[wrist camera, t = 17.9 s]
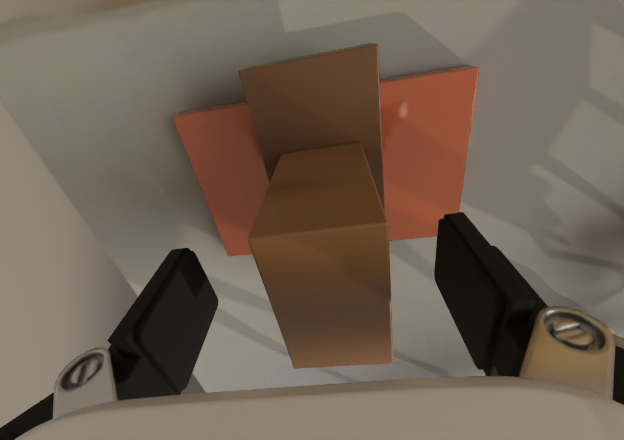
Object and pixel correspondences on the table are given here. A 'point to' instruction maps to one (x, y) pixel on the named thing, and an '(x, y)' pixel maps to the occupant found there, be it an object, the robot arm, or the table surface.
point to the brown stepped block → (323, 205)
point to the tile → (395, 148)
